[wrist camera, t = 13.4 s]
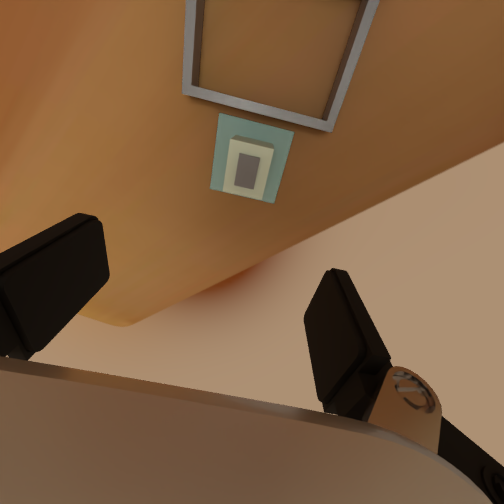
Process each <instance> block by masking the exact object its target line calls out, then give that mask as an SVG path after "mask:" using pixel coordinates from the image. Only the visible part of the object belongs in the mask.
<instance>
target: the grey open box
mask: <svg viewBox="0 0 504 504" xmlns="http://www.w3.org/2000/svg"><path fill="white" fill-rule="evenodd" d="M379 1H380V0H362V1H361V4H360V7H359V10H358V13H357V16H356V19H355V22H354V25H353V28H352V31H351V34H350V37H349V40H348V43H347V46H346V49H345V52H344V55H343V58H342V61H341V64H340V67H339V70H338V73H337V76H336V79H335V82H334V85H333V88H332V91H331V94H330V97H329V100H328V103H327V106H326V109H325V112H324V115H323V118H322V120H321V119H317V118H313V117H309V116H305V115H302V114H298V113H294V112H290V111H287V110H283V109H279V108H275V107H271V106H268V105H264V104H260V103H256V102H253V101H249V100H245V99H241V98H237V97H234V96H230V95H226V94H222V93H218V92H215V91H211V90H207V89H203V88H200V87H198V82H199V69H200V56H201V43H202V29H203V16H204V3H205V0H186V12H185V34H184V57H183V79H182V94H185V95H189V96H193V97H197V98H201V99H204V100H208V101H212V102H216V103H220V104H224V105H227V106H231V107H235V108H239V109H243V110H247V111H250V112H254V113H258V114H262V115H266V116H270V117H273V118H277V119H281V120H285V121H289V122H293V123H296V124H300V125H304V126H308V127H312V128H316V129H319V130H323V131H327V132H331V133H332V130H333V127H334V125H335V122H336V119H337V116H338V114H339V111H340V108H341V105H342V103H343V100H344V97H345V94H346V92H347V89H348V86H349V83H350V81H351V78H352V75H353V72H354V70H355V67H356V64H357V61H358V59H359V56H360V53H361V50H362V48H363V45H364V42H365V39H366V37H367V34H368V31H369V28H370V26H371V23H372V20H373V17H374V15H375V12H376V9H377V6H378V4H379Z"/></svg>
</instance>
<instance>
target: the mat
mask: <svg viewBox="0 0 504 504" xmlns="http://www.w3.org/2000/svg"><path fill="white" fill-rule="evenodd" d="M235 135H240V136H244V137H248V138H252V139H256V140H261V141H265V142H269V143H273V147H274V152H273V156H272V160H271V164H270V168H269V172H268V176H267V180H266V185H265V189H264V193H263V197H262V200H260V201H265V202H269V203H273V204H274V202H275V199H276V195H277V192H278V188H279V185H280V181H281V178H282V174H283V170H284V167H285V163H286V160H287V156H288V153H289V149H290V146H291V142H292V139H293V135H294V132H292V131H288V130H285V129H281V128H277V127H273V126H269V125H265V124H261V123H258V122H254V121H250V120H246V119H242V118H238V117H234V116H230V115H227V114H223V113H219V119H218V127H217V136H216V144H215V152H214V160H213V168H212V176H211V185H210V189H213V190H218V191H222V192H223V185H224V178H225V171H226V164H227V158H228V151H229V144H230V139H231V138H232V137H234V136H235ZM226 193H228V192H226ZM230 194H232V193H230ZM235 195H237V194H235ZM239 196H241V195H239ZM243 197H246V196H243ZM248 198H250V197H248ZM252 199H255V198H252ZM256 200H259V199H256Z"/></svg>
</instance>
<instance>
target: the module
mask: <svg viewBox="0 0 504 504" xmlns="http://www.w3.org/2000/svg"><path fill="white" fill-rule="evenodd" d="M273 152H274V147H273V143H269V142H265V141H261V140H256V139H252V138H248V137H244V136H240V135H235V136H234V137H232V138H231V139H230V144H229V151H228V158H227V164H226V171H225V178H224V185H223V192H228V193H232V194H237V195H241V196H246V197H250V198H255V199H259V200H262V197H263V193H264V189H265V185H266V180H267V176H268V172H269V168H270V164H271V160H272V156H273Z"/></svg>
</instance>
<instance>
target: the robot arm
mask: <svg viewBox="0 0 504 504" xmlns="http://www.w3.org/2000/svg"><path fill="white" fill-rule="evenodd" d="M109 276H110V273H109V266H108V259H107V253H106V246H105V239H104V232H103V226H102V223H101V221H99V220H98V218H97V217H96V216H92V215H87V214H83V213H77V214H75V215H73V216H71V217H69V218H67V219H65V220H63V221H61V222H59V223H57V224H55V225H54V226H52V227H50V228H48V229H46V230H44V231H42V232H40V233H38V234H36V235H34V236H33V237H31V238H29V239H27V240H25V241H23V242H21V243H19V244H17V245H15V246H13V247H11V248H10V249H8V250H6V251H4V252H2V253H0V504H504V467H503V466H502V465H501V464H500V463H498V462H497V461H496V460H495V459H493V458H492V457H491V456H490V455H489V454H487V453H486V452H485V451H484V450H482V449H481V448H480V447H479V446H478V445H476V444H475V443H474V442H473V441H472V440H470V439H469V438H468V437H467V436H466V435H464V434H463V433H462V432H461V431H459V430H458V429H457V428H456V427H455V426H454V425H452V424H451V423H450V422H449V421H447V420H446V419H445V418H444V417H443V416H442V408H441V404H440V402H439V399H438V397H437V395H436V394H435V392H434V391H433V389H432V388H431V387H430V386H429V385H428V384H427V382H425V380H423V379H422V378H421V377H420V376H418V375H417V374H416V373H414V372H412V371H411V370H409V369H406V368H404V367H398V366H395V367H393V366H392V364H391V362H390V359H391V357H390V355H389V353H388V351H387V349H386V347H385V345H384V343H383V341H382V339H381V337H380V335H379V333H378V331H377V329H376V327H375V326H374V323H373V321H372V319H371V318H370V315H369V314H368V312H367V310H366V308H365V306H364V304H363V302H362V300H361V298H360V296H359V294H358V292H357V290H356V288H355V286H354V284H353V282H352V280H351V278H350V276H349V275H348V273H347V271H344V270H339V269H335V268H332V269H331V270H330V271H328V270H327V271H326V272H325V274H324V276H323V278H322V280H321V282H320V284H319V286H318V288H317V290H316V292H315V294H314V296H313V298H312V300H311V302H310V304H309V306H308V308H307V310H306V312H305V315H304V324H305V331H306V336H307V341H308V347H309V353H310V358H311V364H312V370H313V375H314V381H315V386H316V392H317V397H318V399H319V401H321V402H322V404H323V409H324V412H325V413H322V412H317V411H312V410H307V409H302V408H297V407H292V406H286V405H280V404H274V403H269V402H263V401H257V400H252V399H247V398H241V397H235V396H230V395H224V394H219V393H213V392H208V391H202V390H196V389H190V388H184V387H178V386H173V385H167V384H161V383H156V382H150V381H144V380H138V379H132V378H127V377H121V376H115V375H109V374H103V373H97V372H92V371H85V370H80V369H74V368H68V367H61V366H55V365H50V364H44V363H38V362H32V361H28V359H30V357H31V356H32V355H33V354H34V353H35V352H38V351H41V350H42V349H43V348H44V347H45V346H46V345H47V344H48V343H49V342H50V341H51V340H52V339H53V338H54V337H55V336H56V335H57V334H58V333H59V332H60V331H61V330H62V329H63V328H64V326H65V325H66V324H67V323H68V322H69V321H70V320H71V319H72V318H73V317H74V316H75V315H76V314H77V313H78V312H79V311H80V310H81V309H82V308H83V307H84V306H85V304H86V303H87V302H88V301H89V300H90V299H91V298H92V297H93V296H94V295H95V294H96V293H97V292H98V291H99V290H100V289H101V288H102V287H103V286H104V285H105V283H106V282H107V281H108V279H109ZM6 355H8V356H9V358H8V357H6ZM327 413H331V414H327ZM332 414H337V415H338V416H337V415H332Z"/></svg>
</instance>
